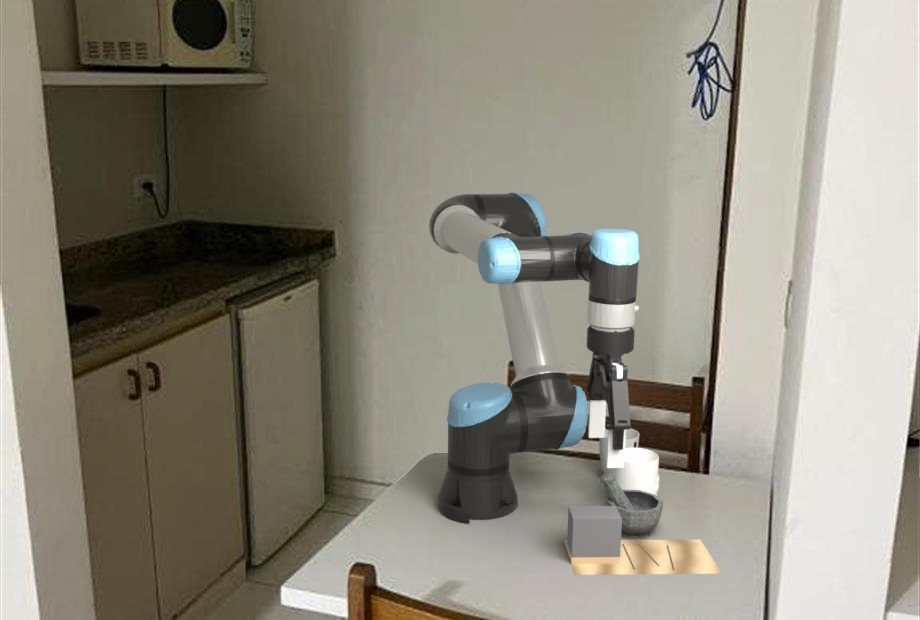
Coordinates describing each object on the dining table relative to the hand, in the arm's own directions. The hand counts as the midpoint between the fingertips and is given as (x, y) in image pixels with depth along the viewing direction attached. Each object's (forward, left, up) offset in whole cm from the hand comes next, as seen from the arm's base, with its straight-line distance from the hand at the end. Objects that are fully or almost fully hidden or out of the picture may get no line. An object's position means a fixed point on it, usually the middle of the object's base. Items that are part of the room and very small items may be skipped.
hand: (605, 451), depth 152 cm
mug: (+9, +18, -19) cm, 28 cm away
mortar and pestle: (+7, +8, -19) cm, 22 cm away
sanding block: (-2, -2, -18) cm, 18 cm away
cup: (+10, +34, -19) cm, 40 cm away
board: (+6, -2, -19) cm, 20 cm away
